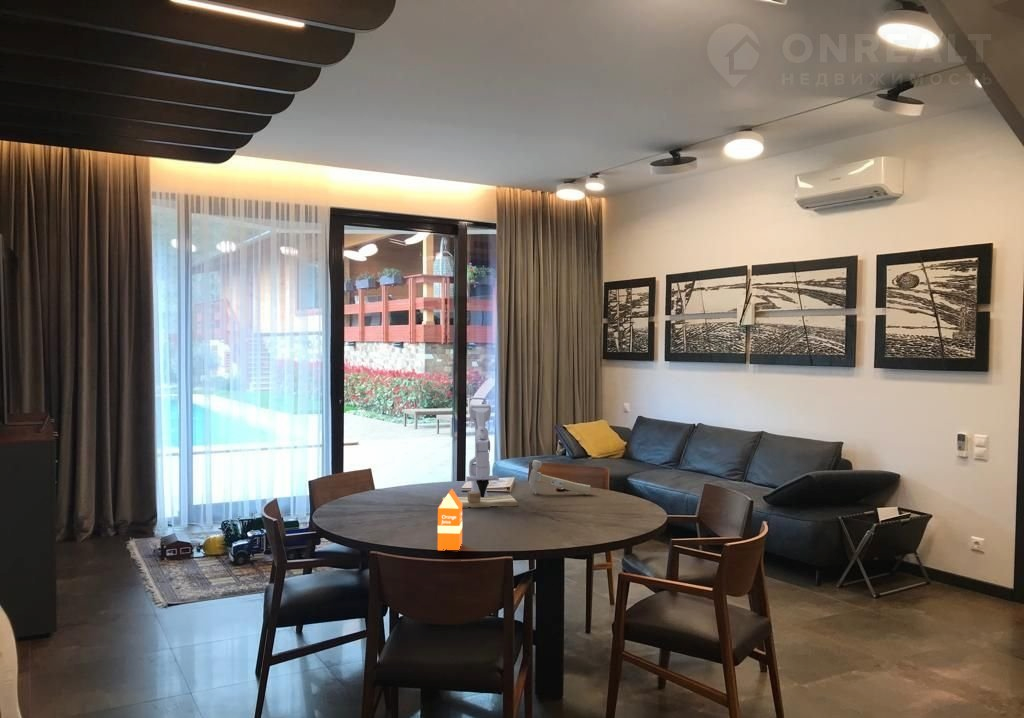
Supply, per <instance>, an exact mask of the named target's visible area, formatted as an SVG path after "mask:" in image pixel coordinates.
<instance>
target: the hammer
mask: <svg viewBox="0 0 1024 718" xmlns="http://www.w3.org/2000/svg"><path fill="white" fill-rule="evenodd" d="M531 466H532V469H531V471H530V474H529V476H528V477H529V478H528V484H529V488H530V490H531V492H533V493H534V495H537V493H536V492H537V491H536V488H535V482H536V483H540V482H541V483H545V484H548V485H552V486H556V487H559V488H560V489H564V490H568V491H572V492H575V493H578V494H583V495H585V496H589V494H590V491H591V485H590V484H584V483H578V482H575V481H570V480H567V479H562V478H558V477H554V476H551V475H550V476H549V475H546V474H542V472H538V470H539V469H541V467H542V461H541V460H537V459H534V460H533V461H532V464H531Z"/></svg>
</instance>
